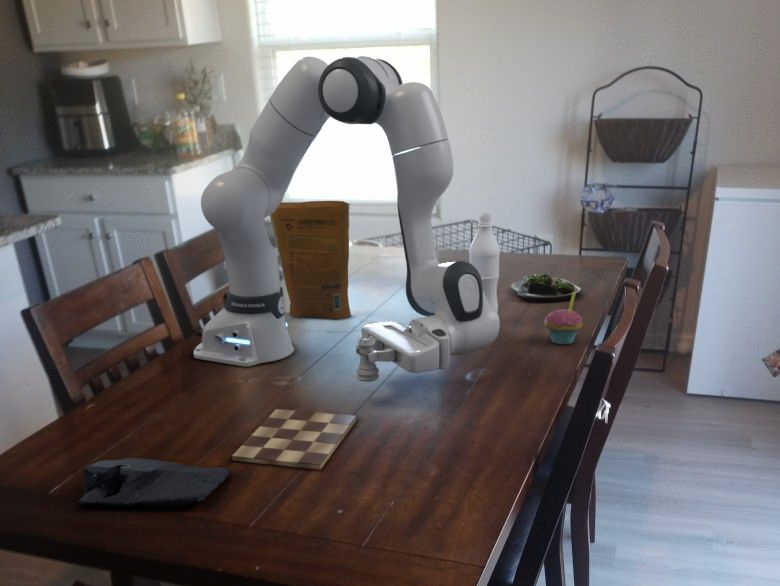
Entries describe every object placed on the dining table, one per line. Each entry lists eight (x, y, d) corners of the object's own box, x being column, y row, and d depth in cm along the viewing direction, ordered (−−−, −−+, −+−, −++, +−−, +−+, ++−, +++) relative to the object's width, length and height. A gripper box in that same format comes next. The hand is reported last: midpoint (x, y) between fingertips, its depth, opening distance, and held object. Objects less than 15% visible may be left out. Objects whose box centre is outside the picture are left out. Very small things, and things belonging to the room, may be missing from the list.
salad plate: (497, 285, 230) (498, 268, 228) (558, 279, 233) (560, 262, 231) (522, 305, 214) (523, 287, 211) (587, 299, 217) (589, 281, 215)
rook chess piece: (362, 384, 159) (360, 343, 155) (352, 376, 162) (350, 336, 158) (383, 379, 161) (382, 339, 157) (373, 372, 164) (371, 332, 160)
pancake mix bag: (351, 322, 206) (344, 203, 191) (278, 318, 210) (266, 201, 196) (359, 314, 212) (353, 197, 197) (288, 310, 216) (277, 196, 201)
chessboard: (232, 460, 144) (231, 455, 144) (276, 413, 161) (276, 408, 160) (320, 470, 140) (320, 464, 140) (356, 420, 157) (356, 415, 156)
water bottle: (496, 327, 200) (499, 218, 187) (466, 326, 201) (467, 217, 188) (498, 318, 206) (502, 211, 193) (469, 317, 207) (471, 211, 194)
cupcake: (585, 337, 192) (590, 285, 186) (576, 349, 186) (580, 295, 179) (548, 333, 195) (552, 281, 189) (538, 344, 189) (541, 291, 183)
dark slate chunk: (202, 518, 128) (197, 491, 125) (70, 507, 132) (63, 481, 129) (237, 471, 141) (233, 446, 138) (116, 463, 145) (110, 438, 142)
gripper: (398, 310, 170) (337, 323, 165) (453, 339, 155) (388, 354, 149) (398, 340, 174) (339, 353, 168) (453, 371, 158) (389, 387, 153)
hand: (362, 354), depth 159 cm, fingers closed on rook chess piece, 3 cm apart
